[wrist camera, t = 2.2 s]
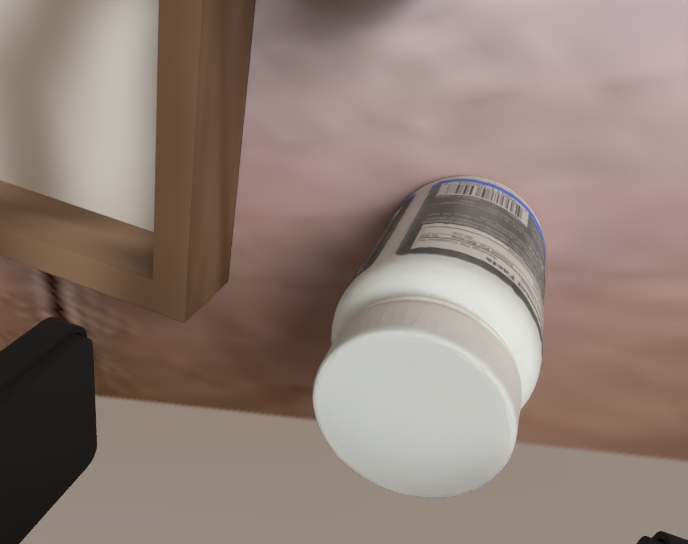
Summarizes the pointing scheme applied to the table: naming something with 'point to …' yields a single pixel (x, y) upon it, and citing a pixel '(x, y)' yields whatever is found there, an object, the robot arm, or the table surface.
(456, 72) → the table surface
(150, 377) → the table surface
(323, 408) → the pill bottle
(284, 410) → the table surface
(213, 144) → the bay
